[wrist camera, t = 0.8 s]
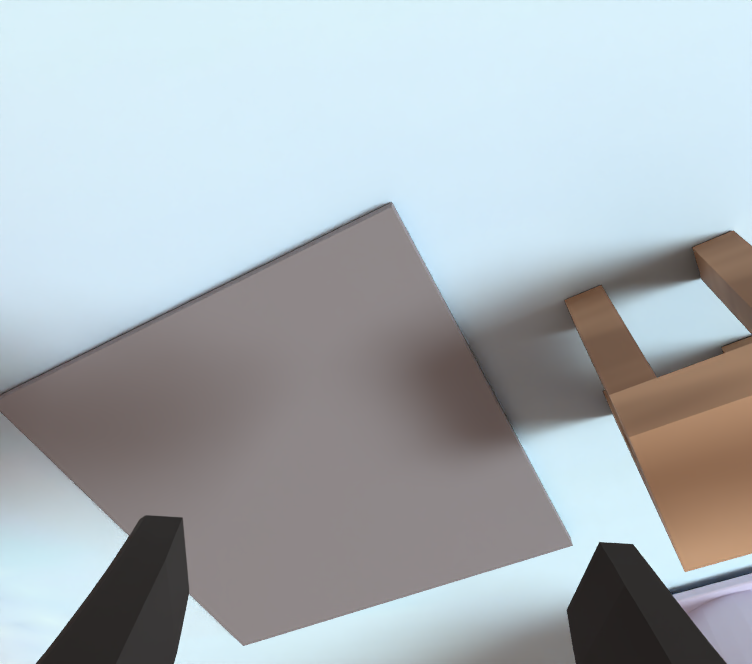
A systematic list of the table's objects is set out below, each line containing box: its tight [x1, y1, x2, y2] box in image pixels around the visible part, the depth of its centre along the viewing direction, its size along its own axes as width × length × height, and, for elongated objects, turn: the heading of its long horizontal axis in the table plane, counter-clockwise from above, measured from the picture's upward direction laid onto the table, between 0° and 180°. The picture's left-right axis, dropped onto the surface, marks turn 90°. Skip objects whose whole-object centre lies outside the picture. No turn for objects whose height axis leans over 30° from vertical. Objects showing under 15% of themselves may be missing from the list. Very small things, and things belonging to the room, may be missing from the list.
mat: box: [0, 202, 573, 646], centre depth 24 cm, size 16×16×1 cm
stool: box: [564, 231, 752, 572], centre depth 18 cm, size 5×5×7 cm
